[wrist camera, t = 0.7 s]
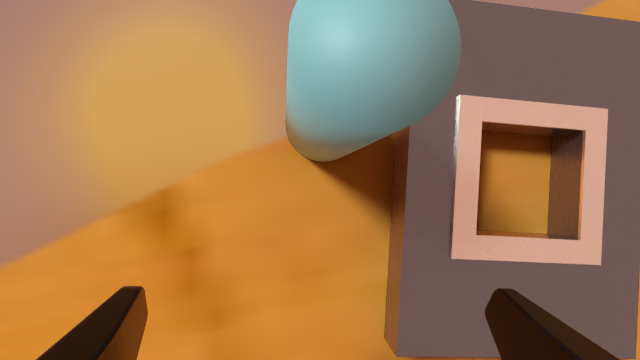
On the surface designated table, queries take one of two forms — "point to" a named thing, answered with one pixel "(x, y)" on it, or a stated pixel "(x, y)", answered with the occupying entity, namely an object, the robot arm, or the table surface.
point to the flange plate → (565, 185)
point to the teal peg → (365, 70)
